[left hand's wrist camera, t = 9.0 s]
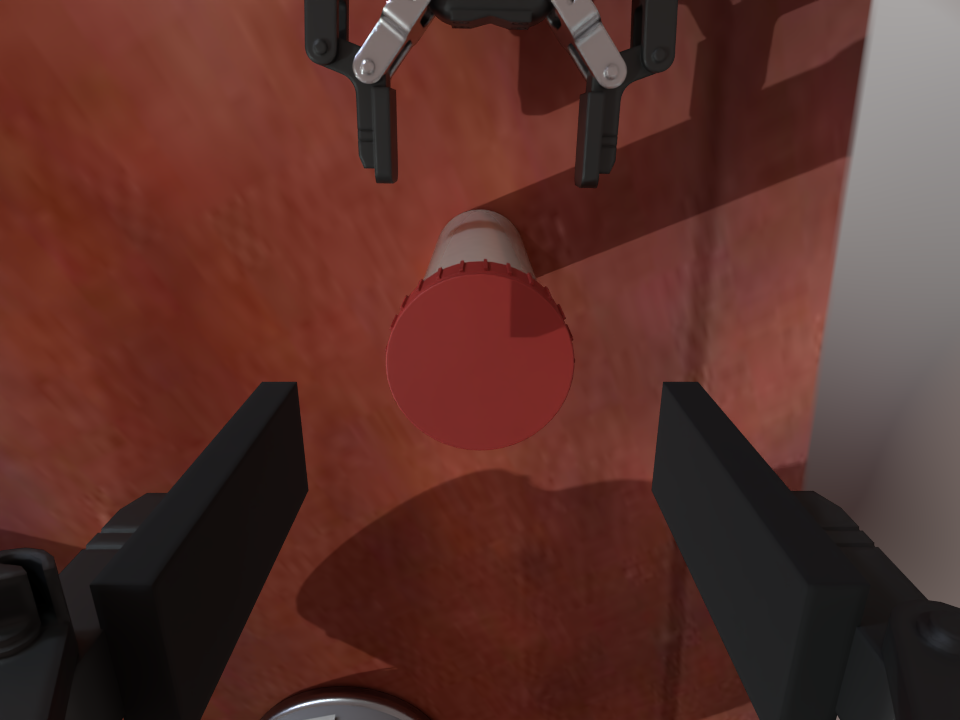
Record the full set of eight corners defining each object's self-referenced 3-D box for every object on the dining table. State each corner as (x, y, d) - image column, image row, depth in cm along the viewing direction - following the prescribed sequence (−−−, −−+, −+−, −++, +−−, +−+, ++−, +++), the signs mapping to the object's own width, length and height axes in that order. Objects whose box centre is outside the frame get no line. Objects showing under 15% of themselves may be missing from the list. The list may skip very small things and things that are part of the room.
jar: (512, 199, 34) (541, 264, 18) (532, 285, 35) (575, 414, 19) (425, 222, 34) (378, 305, 18) (449, 306, 36) (425, 449, 20)
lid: (547, 237, 19) (554, 248, 17) (584, 404, 21) (594, 429, 19) (368, 283, 20) (357, 299, 18) (420, 442, 21) (415, 471, 20)
